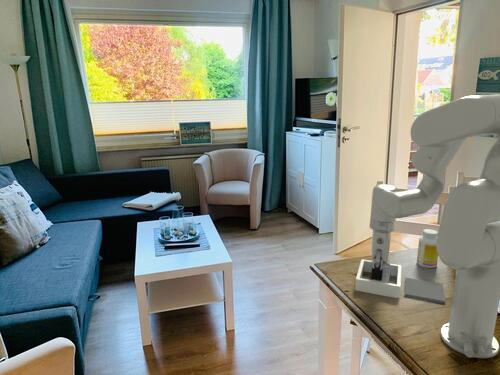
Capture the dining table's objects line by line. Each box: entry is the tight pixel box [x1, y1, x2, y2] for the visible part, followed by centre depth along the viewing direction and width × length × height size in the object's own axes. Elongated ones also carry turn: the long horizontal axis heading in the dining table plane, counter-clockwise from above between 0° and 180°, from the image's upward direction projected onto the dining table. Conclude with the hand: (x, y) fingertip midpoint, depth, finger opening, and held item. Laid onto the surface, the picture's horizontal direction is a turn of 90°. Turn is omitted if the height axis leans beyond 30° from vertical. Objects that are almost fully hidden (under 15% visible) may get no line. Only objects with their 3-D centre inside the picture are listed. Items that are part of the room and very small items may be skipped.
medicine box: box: [370, 256, 391, 283], centre depth 119 cm, size 8×4×9 cm, turn 170°
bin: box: [354, 259, 402, 299], centre depth 119 cm, size 15×13×4 cm
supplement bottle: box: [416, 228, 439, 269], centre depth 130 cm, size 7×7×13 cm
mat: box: [404, 277, 446, 304], centre depth 114 cm, size 11×11×1 cm
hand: (377, 272), depth 120 cm, fingers closed on medicine box, 8 cm apart
